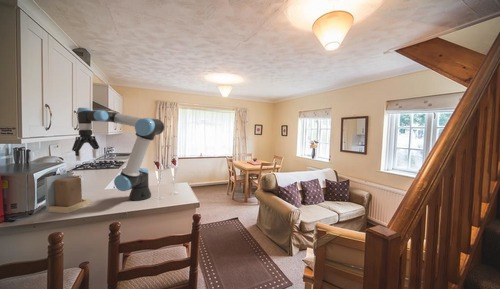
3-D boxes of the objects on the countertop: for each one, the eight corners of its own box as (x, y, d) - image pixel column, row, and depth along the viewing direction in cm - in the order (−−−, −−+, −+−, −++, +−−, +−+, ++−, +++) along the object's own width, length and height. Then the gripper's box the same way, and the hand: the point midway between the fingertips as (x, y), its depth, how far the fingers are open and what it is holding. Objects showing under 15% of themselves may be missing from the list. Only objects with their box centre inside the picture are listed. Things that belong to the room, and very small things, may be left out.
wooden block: (67, 211, 130) (66, 180, 128) (55, 209, 132) (53, 179, 130) (83, 205, 140) (81, 177, 138) (71, 204, 142) (69, 176, 140)
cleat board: (90, 203, 143) (89, 173, 141) (67, 213, 127) (65, 178, 125) (71, 202, 145) (69, 172, 143) (46, 211, 129) (44, 177, 127)
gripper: (94, 129, 156) (96, 156, 158) (63, 129, 132) (65, 161, 133) (104, 129, 156) (105, 156, 158) (74, 129, 131) (76, 161, 133)
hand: (87, 159), depth 145 cm, fingers open, 13 cm apart
